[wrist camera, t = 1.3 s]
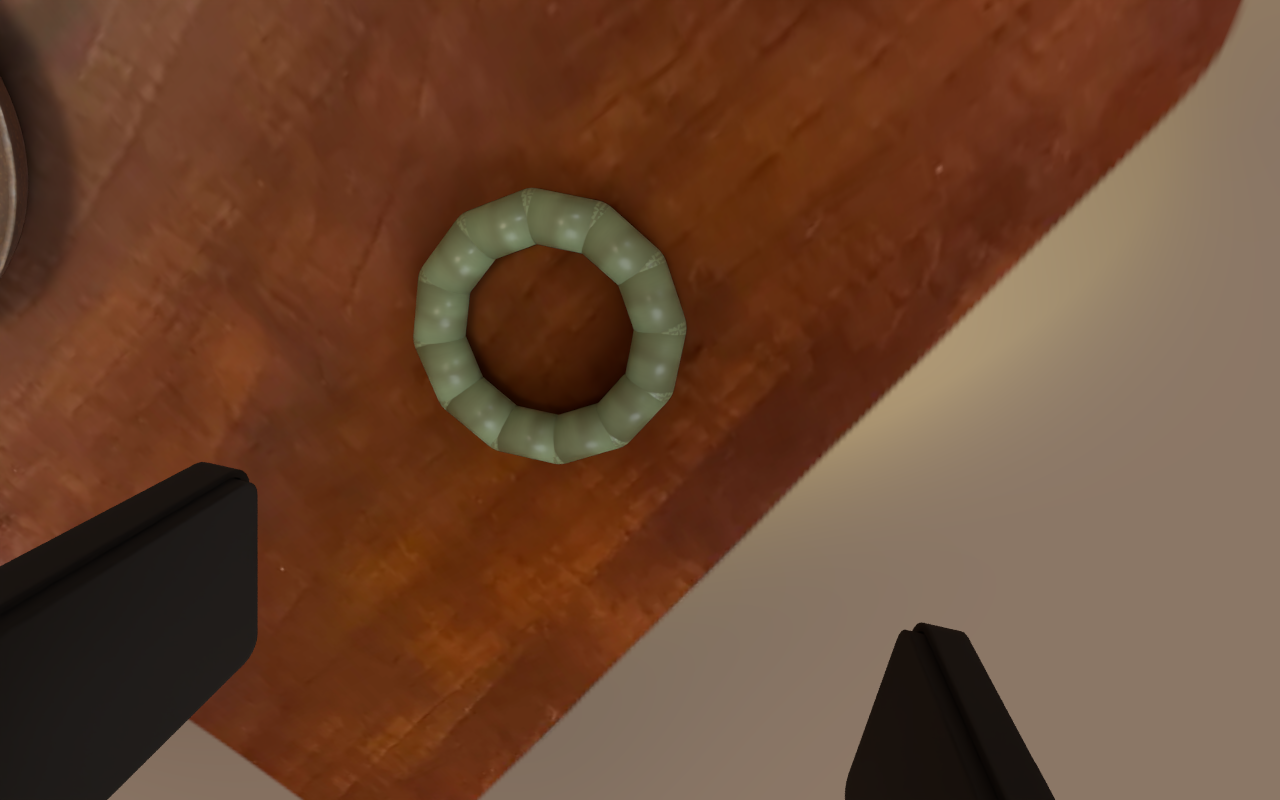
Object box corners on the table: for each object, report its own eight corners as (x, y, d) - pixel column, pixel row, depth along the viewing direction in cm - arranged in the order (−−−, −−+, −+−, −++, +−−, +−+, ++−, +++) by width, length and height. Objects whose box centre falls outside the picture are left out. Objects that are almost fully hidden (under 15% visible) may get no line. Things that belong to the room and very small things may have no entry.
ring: (710, 221, 23) (708, 224, 22) (656, 473, 26) (651, 493, 25) (440, 167, 24) (418, 165, 22) (418, 420, 27) (397, 436, 25)
